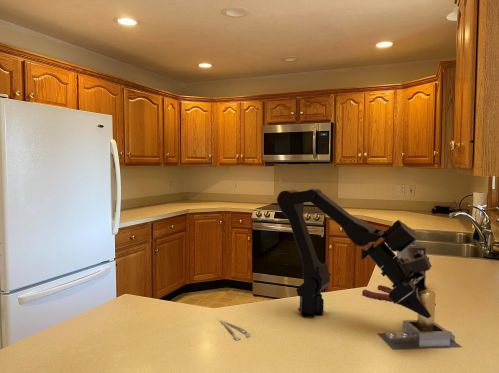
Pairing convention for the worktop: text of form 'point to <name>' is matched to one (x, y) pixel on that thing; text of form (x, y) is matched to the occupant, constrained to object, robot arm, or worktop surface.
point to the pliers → (378, 295)
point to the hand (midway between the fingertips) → (432, 311)
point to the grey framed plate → (421, 336)
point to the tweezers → (236, 329)
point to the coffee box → (411, 253)
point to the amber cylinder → (429, 303)
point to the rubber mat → (411, 344)
